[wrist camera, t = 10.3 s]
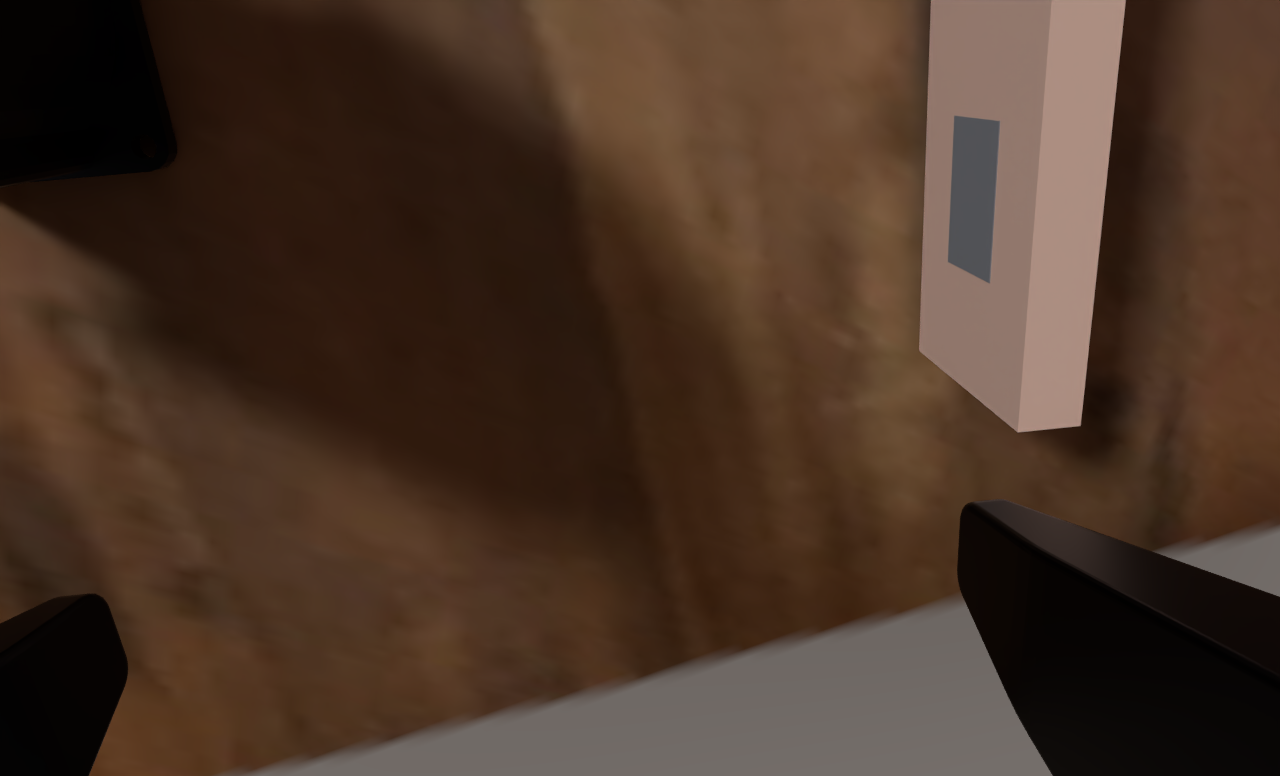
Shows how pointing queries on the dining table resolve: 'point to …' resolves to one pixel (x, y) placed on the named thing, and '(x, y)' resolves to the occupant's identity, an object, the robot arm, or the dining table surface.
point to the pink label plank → (1017, 198)
